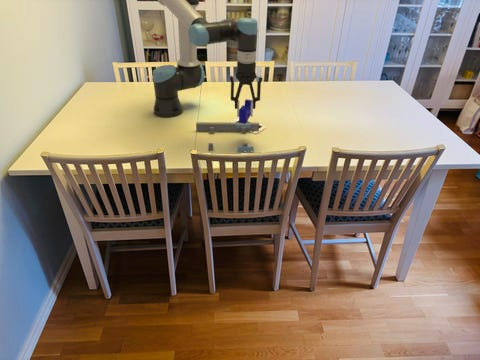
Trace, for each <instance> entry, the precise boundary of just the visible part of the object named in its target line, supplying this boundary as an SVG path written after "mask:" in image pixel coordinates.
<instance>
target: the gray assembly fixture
mask: <svg viewBox="0 0 480 360" xmlns="http://www.w3.org/2000/svg"><path fill="white" fill-rule="evenodd" d="M259 125H260V122H252V123H246V124H243V123H239V122H230V121H228V122H227V121H225V122H221V121H220V122H219V121H218V122H215V121H214V122H213V121H210V122H208V121H207V122H203V121H202V122H197V121H196V122H195V129H196V132H197V133H199V132H200V133H205V132H206V133H209V134H210V135H214V134H215V133H222V132H223V133H240V134H241V135H246V133H250V132H249V131H259ZM254 147H255V146H253V145H252V146H249V143H247V142H243V143H242V146H237V148H236V149H237V153H243V152H242V151H246V152H245V153H252V152H251V151H253V152H255V151H254ZM208 151H214V142H209V143H208ZM248 151H249V152H248Z"/></svg>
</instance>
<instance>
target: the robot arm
mask: <svg viewBox="0 0 480 360" xmlns="http://www.w3.org/2000/svg"><path fill="white" fill-rule="evenodd" d="M156 1H157V2H158V3H159V4H160V5H162V6H164V7H166V9H168V10H169V12H171V14H173V15H174V17H176V19H177V25H178V28H177V29H178V45H179V48H178V49H179V59H178V60H177V62H176V64H177V66H175V65H174V64H164V65H160V66H157V67H156V68H154V69H153V71H152V82H153V89H154V96H155V101H154V105H153V114H154V115H155V116H157V117H160V118H174V117H178V116H180V115H182V114H183V106H182V103H181V101H180V98H179V94H178V93H179V91H180V92H181V91H186V90H189V89H195V88H197V87H198V88H199V87H201V86H202V85H203V83H204V81H205V77H206V75H205V69H204V67H203V65H202V64H201V62H200V60H198V55H197V53H198V52H197V51H198V48H197V47H198V46H202V47H204V46H207V45H214V44H220V43H228V42H233V43H235V44H237V52H236V53H237V55H236V57H237V59H236V60H237V61H236V73H235V74H234V75H230V76H229V81H230V101H233V102H234V109H235V110H237V112H236V116H237V117H236V118H239V109H240V100H239V98H240V96H241V95H240V94H241V92H242V88H243V86H245V85H247V86H248V87H249V90H250V93H251V98H252V99H250V100H251V111H250V118H253V113H254V110H255V109H256V104H257V103H256V102H260V101H261V87H262V81H263V77H262V75H260V76H259V75H257V73H256V68H257V67H256V64H257V62H256V60H257V44H258V32H259V30H258V20H257V19H256V18H253V17H251V18H250V17H241V18H239V19H238V20H233V19H231V18H230V19H229V18H225V19H224V18H223V19H222V20H220V21H213V22H208V20H206V19H205V18H204V17H203V16H202V14H200V13H199V11H197V7H198V6H199V5H200V0H156ZM236 80H237V81H238V87H237V90H236V93H235V82H236ZM255 80H256V84H257V85H256V87H257V88H256V95H255V91H254V90H255V89H254V87H253V83H254V81H255ZM234 93H235V95H234Z"/></svg>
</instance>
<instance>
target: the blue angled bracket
mask: <svg viewBox="0 0 480 360" xmlns="http://www.w3.org/2000/svg"><path fill="white" fill-rule="evenodd" d="M251 100H252V99H246V98H245V100H244V105H241V106H240V107H239V117H238V118H239V123H243V124H246V123H247V121H249V119H250V118H251V115H250V111H251Z"/></svg>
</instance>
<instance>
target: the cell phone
mask: <svg viewBox="0 0 480 360" xmlns="http://www.w3.org/2000/svg"><path fill="white" fill-rule="evenodd" d="M229 122H239V117H236V118H235V119H231V121H229ZM247 123H253V122H251V121H249V120H248V121H247ZM266 129H267V127H266V126H263V125H260V124H259V131H249V132H248V133H250V134H253V135H257V134H259V133H261V132H263V131H264V130H266Z"/></svg>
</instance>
